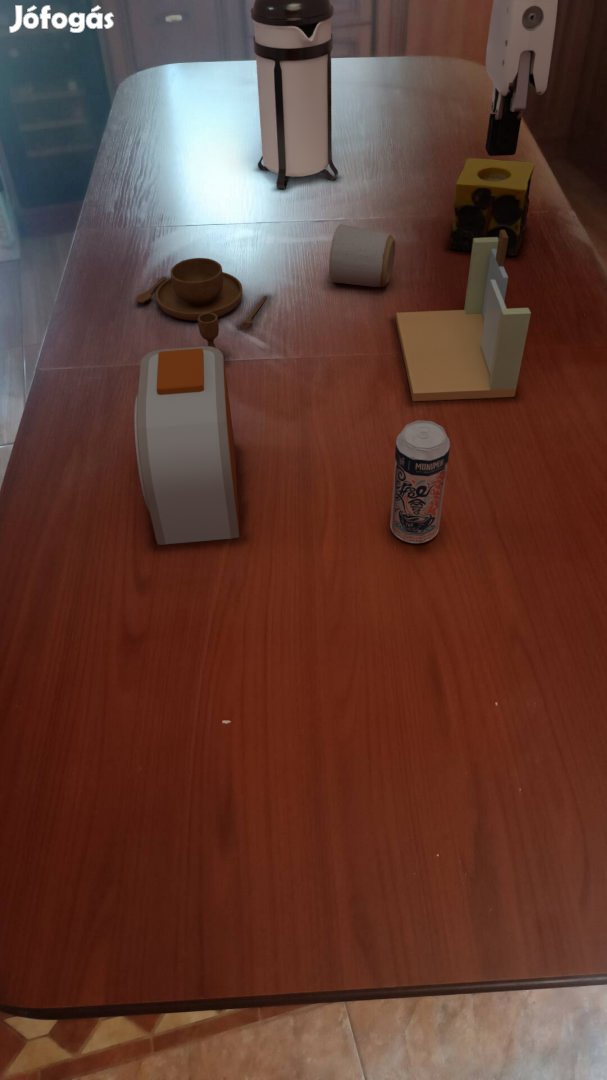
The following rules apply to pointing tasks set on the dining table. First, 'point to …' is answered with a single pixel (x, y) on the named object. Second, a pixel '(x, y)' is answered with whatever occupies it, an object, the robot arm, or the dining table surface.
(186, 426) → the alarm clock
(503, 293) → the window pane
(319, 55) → the coffee press
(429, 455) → the beer can
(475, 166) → the yellow cube with holes
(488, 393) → the bookend with square base
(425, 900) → the dining table surface
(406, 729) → the dining table surface
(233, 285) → the place setting
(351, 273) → the grey cylinder
